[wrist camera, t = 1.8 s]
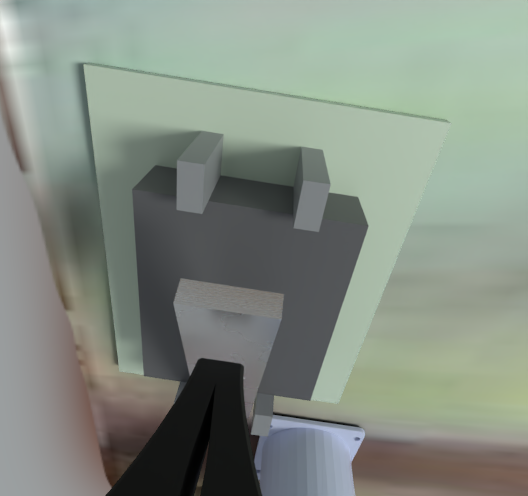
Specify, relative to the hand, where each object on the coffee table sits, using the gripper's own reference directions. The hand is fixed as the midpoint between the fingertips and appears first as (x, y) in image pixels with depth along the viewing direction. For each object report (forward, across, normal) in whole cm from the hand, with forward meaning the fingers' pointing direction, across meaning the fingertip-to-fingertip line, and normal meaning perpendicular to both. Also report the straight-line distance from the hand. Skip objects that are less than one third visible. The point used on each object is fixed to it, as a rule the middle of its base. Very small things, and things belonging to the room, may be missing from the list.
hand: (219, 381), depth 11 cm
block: (+4, 0, +3) cm, 5 cm away
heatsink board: (+10, 0, +3) cm, 10 cm away
